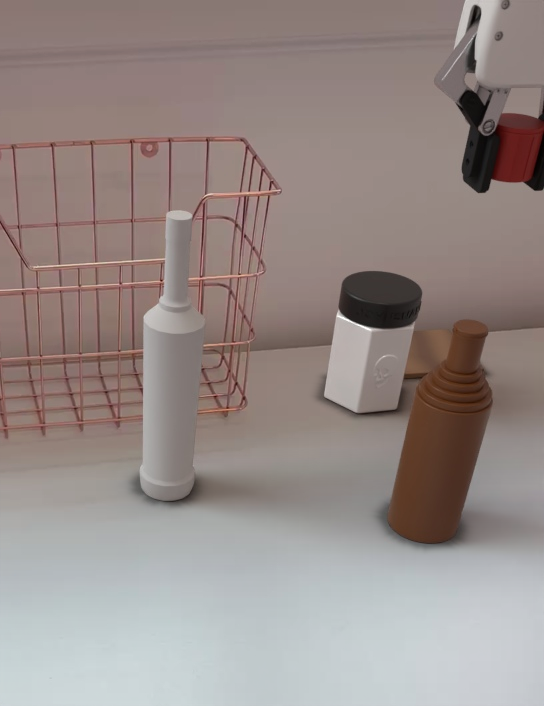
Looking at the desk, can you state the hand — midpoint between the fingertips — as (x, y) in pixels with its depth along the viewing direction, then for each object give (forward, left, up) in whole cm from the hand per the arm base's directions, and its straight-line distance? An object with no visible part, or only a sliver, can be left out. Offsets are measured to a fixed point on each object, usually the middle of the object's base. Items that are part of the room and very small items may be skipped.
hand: (502, 183), depth 77 cm
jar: (-1, -20, -29) cm, 35 cm away
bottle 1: (+23, -6, -29) cm, 38 cm away
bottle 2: (+1, +3, -29) cm, 29 cm away
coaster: (-12, -28, -29) cm, 42 cm away
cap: (0, 0, +1) cm, 1 cm away
